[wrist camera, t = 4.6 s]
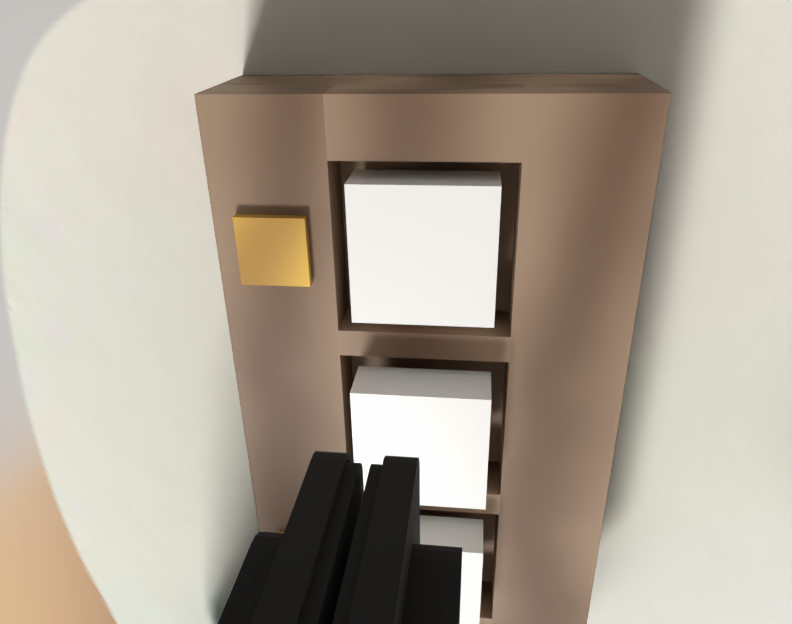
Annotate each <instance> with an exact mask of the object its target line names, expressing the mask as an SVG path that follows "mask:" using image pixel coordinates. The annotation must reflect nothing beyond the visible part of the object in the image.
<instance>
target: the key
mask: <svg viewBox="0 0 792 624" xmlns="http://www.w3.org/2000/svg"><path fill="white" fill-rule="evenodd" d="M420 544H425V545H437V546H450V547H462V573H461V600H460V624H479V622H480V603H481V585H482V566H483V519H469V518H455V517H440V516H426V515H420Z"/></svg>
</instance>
